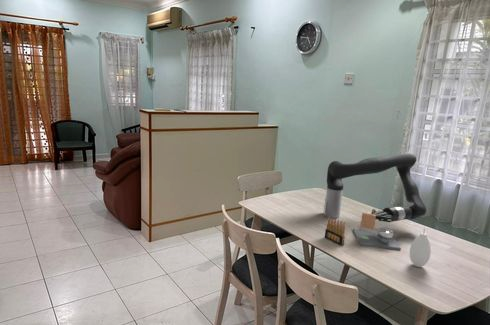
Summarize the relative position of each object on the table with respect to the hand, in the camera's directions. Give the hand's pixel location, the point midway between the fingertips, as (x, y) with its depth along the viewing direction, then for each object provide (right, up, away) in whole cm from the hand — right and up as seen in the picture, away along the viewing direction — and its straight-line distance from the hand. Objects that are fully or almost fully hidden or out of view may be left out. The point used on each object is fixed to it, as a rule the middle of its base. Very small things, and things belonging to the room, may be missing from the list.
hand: (368, 217), depth 166 cm
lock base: (+4, -12, +2) cm, 13 cm away
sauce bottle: (+13, -18, -21) cm, 31 cm away
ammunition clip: (-18, -12, -3) cm, 22 cm away
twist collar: (+3, -8, -1) cm, 9 cm away
